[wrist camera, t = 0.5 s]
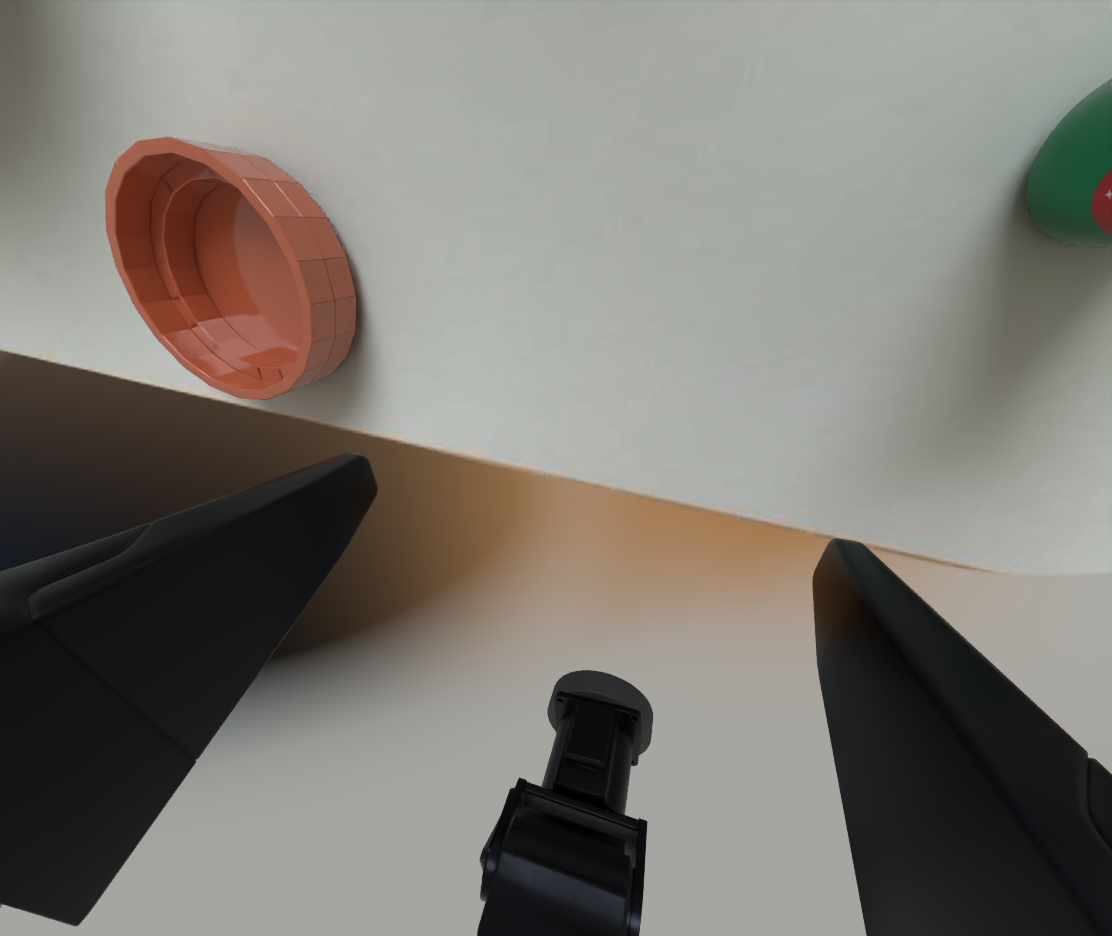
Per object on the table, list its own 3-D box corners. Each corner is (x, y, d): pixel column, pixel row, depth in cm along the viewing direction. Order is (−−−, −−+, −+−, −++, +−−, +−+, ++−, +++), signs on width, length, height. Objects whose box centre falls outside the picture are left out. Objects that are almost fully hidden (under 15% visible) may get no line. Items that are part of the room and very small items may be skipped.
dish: (384, 383, 27) (339, 405, 24) (233, 375, 30) (174, 394, 27) (328, 139, 21) (258, 123, 18) (148, 161, 25) (60, 151, 21)
